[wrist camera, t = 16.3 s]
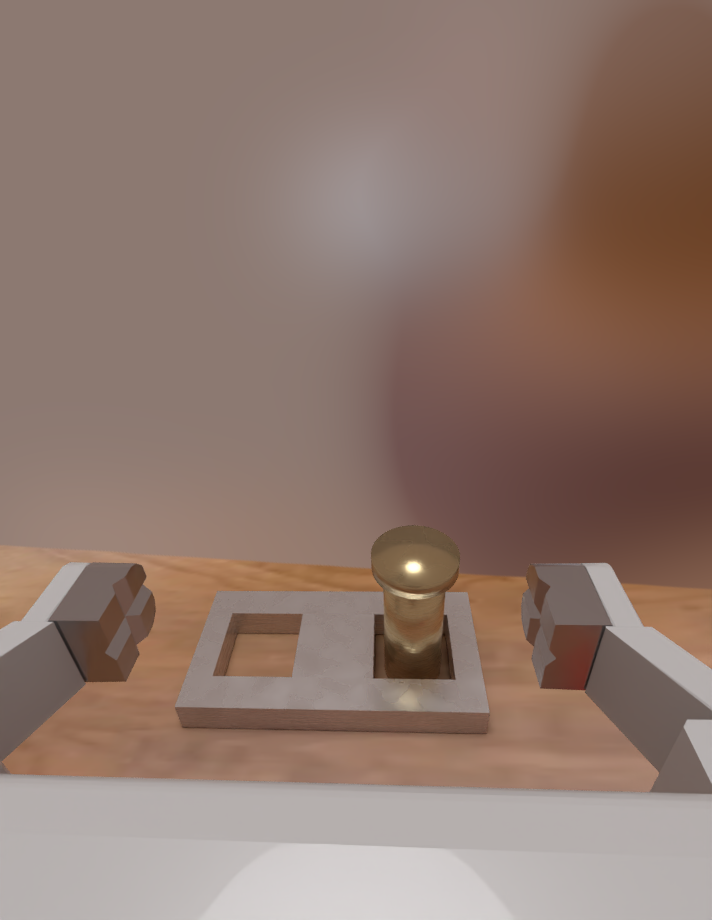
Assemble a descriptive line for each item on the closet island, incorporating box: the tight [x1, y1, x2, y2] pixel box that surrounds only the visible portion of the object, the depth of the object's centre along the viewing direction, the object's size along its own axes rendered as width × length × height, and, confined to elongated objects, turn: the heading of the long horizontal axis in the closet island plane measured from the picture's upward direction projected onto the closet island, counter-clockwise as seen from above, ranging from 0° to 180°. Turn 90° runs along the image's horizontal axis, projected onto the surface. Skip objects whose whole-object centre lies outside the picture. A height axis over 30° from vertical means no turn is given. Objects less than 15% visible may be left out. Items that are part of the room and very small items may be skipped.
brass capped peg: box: [371, 525, 460, 679], centre depth 38 cm, size 6×6×12 cm
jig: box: [175, 591, 490, 734], centre depth 41 cm, size 22×11×2 cm, turn 87°
